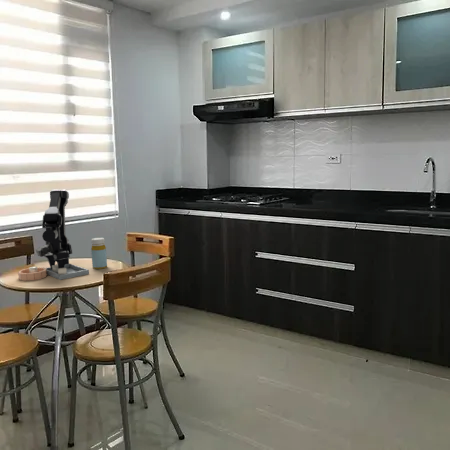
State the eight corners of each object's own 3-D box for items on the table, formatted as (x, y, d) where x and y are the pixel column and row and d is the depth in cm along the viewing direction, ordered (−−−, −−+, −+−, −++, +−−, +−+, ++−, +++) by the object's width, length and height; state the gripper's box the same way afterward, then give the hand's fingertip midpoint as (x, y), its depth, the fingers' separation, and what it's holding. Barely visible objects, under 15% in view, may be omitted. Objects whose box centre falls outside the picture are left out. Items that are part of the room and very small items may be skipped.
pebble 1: (28, 275, 224) (28, 267, 223) (36, 274, 226) (35, 266, 226) (31, 277, 221) (30, 268, 220) (39, 275, 223) (38, 267, 223)
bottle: (103, 270, 233) (101, 239, 231) (90, 269, 234) (88, 239, 232) (109, 266, 240) (107, 237, 238) (96, 266, 241) (94, 237, 239)
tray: (42, 273, 230) (42, 268, 229) (70, 268, 239) (69, 263, 239) (60, 280, 215) (59, 275, 215) (88, 274, 224) (88, 269, 224)
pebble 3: (57, 277, 220) (56, 268, 220) (64, 275, 223) (64, 267, 222) (60, 278, 217) (60, 269, 217) (68, 276, 220) (67, 268, 219)
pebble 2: (51, 273, 227) (50, 265, 227) (58, 272, 230) (58, 264, 229) (54, 274, 225) (53, 266, 224) (62, 273, 227) (61, 265, 227)
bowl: (15, 278, 222) (14, 270, 222) (40, 273, 230) (40, 266, 230) (24, 282, 213) (24, 275, 213) (51, 277, 221) (50, 270, 221)
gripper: (29, 238, 226) (32, 270, 229) (45, 243, 213) (47, 277, 215) (52, 235, 234) (54, 266, 236) (68, 239, 220) (71, 272, 222)
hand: (56, 270), depth 227 cm, fingers open, 9 cm apart
